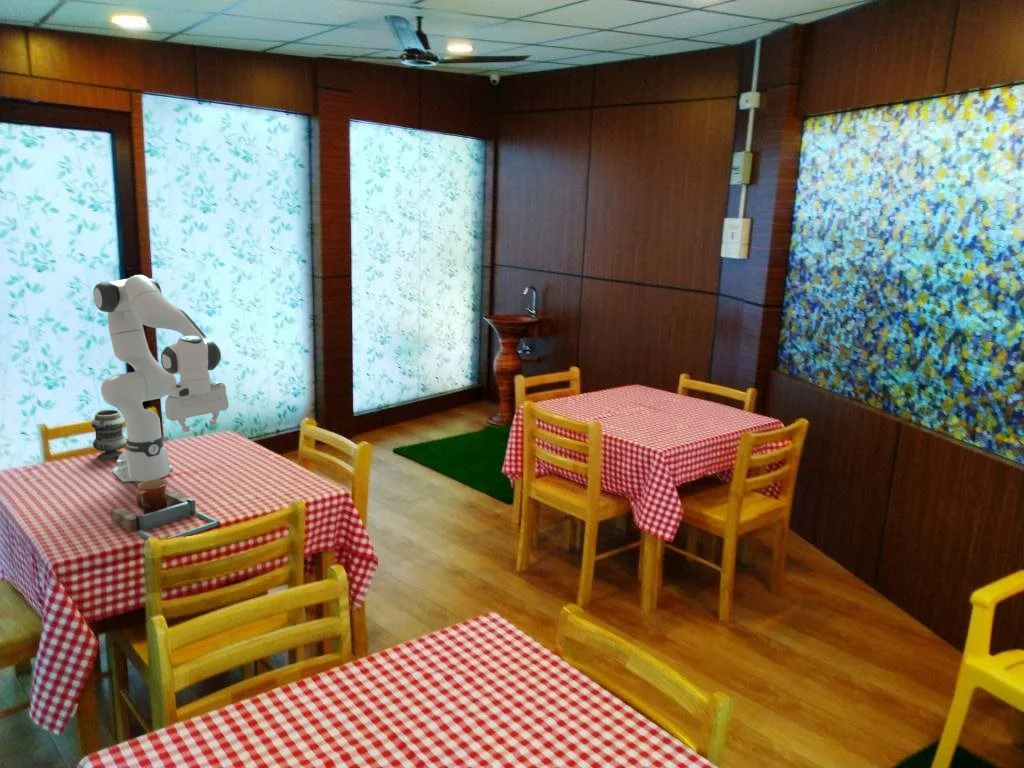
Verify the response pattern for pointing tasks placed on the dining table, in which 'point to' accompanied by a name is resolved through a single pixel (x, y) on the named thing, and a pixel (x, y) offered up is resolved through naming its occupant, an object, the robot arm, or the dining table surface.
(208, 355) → the robot arm
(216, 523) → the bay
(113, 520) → the wooden blocks
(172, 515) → the gate
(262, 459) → the dining table surface
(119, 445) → the apothecary jar
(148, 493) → the mug
